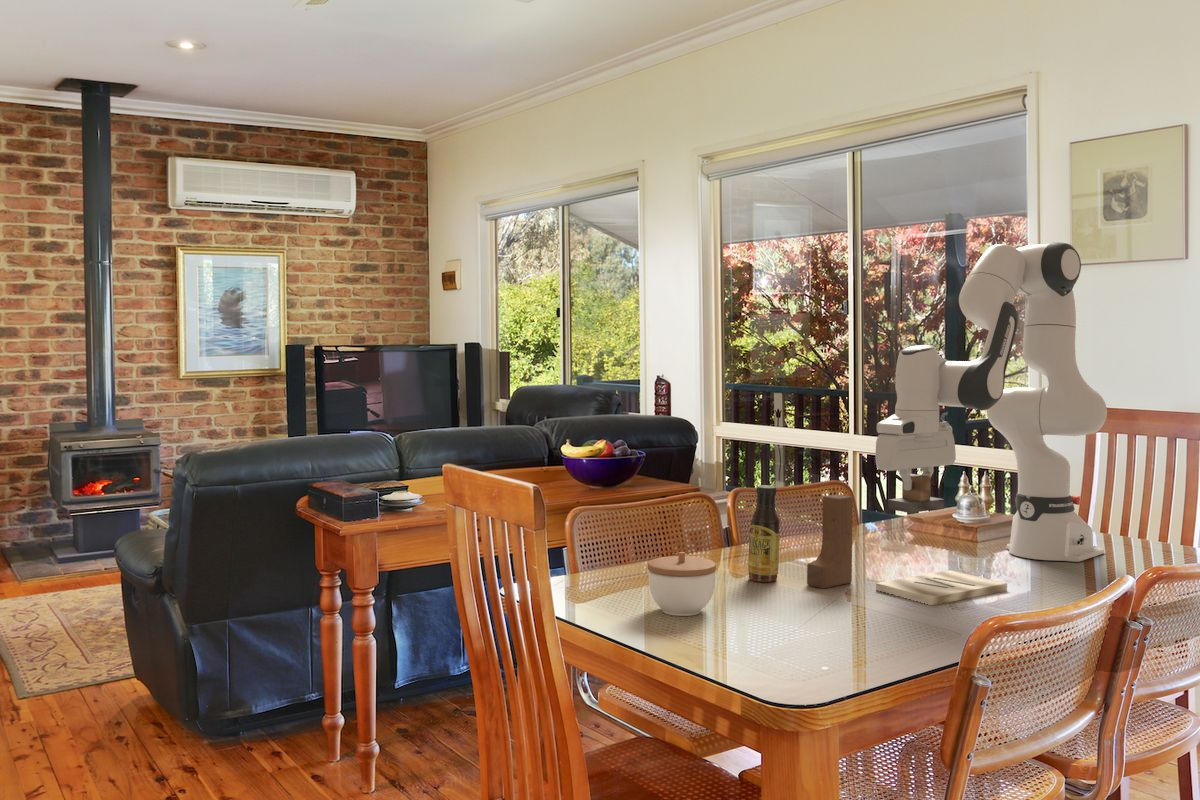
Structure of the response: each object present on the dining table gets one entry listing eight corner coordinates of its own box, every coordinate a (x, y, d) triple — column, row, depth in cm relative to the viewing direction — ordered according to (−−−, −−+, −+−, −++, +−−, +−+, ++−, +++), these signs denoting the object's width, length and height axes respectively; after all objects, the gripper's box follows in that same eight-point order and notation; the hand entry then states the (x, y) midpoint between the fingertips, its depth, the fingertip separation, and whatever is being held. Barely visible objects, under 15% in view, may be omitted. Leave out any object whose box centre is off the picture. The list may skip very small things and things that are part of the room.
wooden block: (823, 589, 211) (823, 500, 210) (806, 585, 214) (806, 498, 213) (852, 583, 216) (853, 496, 215) (835, 579, 220) (836, 494, 219)
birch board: (950, 577, 221) (950, 569, 221) (1007, 590, 209) (1007, 582, 209) (875, 590, 210) (876, 582, 209) (931, 605, 198) (931, 597, 198)
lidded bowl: (647, 602, 201) (647, 545, 200) (713, 602, 200) (713, 545, 200) (648, 620, 188) (648, 559, 188) (718, 620, 188) (718, 559, 187)
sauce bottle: (742, 580, 219) (742, 486, 218) (759, 575, 224) (759, 482, 222) (768, 585, 215) (769, 489, 213) (785, 580, 219) (786, 485, 218)
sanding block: (921, 504, 224) (922, 472, 224) (943, 508, 219) (944, 475, 219) (888, 509, 219) (888, 475, 219) (909, 513, 214) (910, 479, 213)
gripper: (939, 419, 226) (939, 483, 227) (870, 424, 216) (870, 491, 216) (963, 421, 220) (962, 487, 221) (893, 426, 210) (892, 495, 211)
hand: (916, 489), depth 219 cm, fingers closed on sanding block, 3 cm apart
